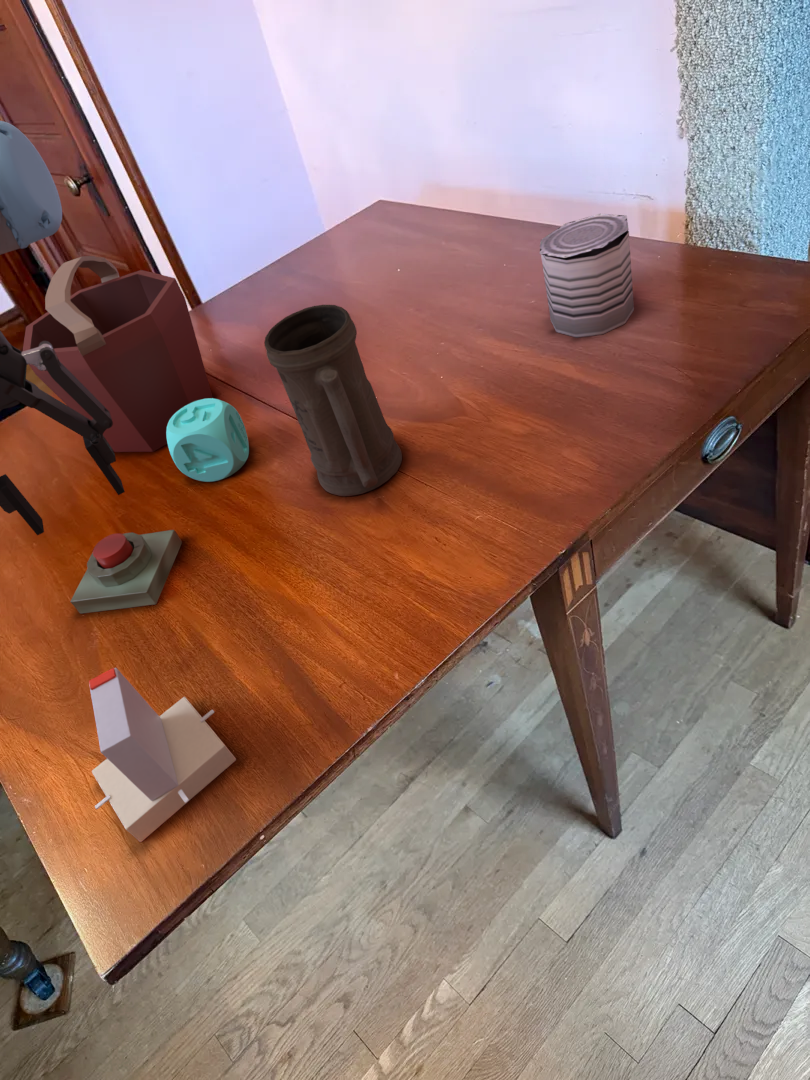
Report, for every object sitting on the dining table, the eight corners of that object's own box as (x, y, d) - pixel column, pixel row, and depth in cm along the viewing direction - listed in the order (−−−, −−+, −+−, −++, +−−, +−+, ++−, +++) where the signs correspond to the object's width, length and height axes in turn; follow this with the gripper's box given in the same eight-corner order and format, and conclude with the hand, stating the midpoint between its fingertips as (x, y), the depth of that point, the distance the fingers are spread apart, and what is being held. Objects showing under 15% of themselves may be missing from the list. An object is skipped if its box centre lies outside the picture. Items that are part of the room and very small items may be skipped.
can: (597, 345, 97) (588, 258, 90) (533, 327, 105) (519, 245, 97) (652, 303, 101) (648, 215, 93) (585, 288, 109) (576, 206, 101)
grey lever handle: (179, 785, 62) (129, 733, 57) (151, 801, 62) (98, 750, 57) (161, 718, 68) (114, 665, 63) (136, 732, 68) (86, 679, 62)
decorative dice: (245, 475, 98) (219, 426, 92) (189, 488, 99) (160, 440, 94) (252, 439, 104) (228, 391, 98) (199, 452, 105) (173, 405, 100)
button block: (156, 604, 84) (138, 580, 81) (80, 614, 86) (60, 591, 84) (182, 542, 91) (167, 518, 88) (111, 552, 93) (94, 529, 91)
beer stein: (304, 465, 96) (244, 331, 81) (376, 426, 97) (330, 288, 83) (355, 533, 85) (297, 392, 71) (435, 488, 87) (393, 342, 73)
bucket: (197, 460, 103) (101, 294, 87) (62, 482, 109) (-52, 330, 92) (242, 365, 121) (169, 212, 104) (124, 388, 126) (37, 246, 110)
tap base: (139, 870, 61) (122, 856, 59) (86, 779, 69) (70, 764, 67) (258, 765, 65) (246, 749, 63) (196, 691, 73) (183, 675, 71)
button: (126, 566, 84) (118, 555, 83) (95, 570, 85) (87, 560, 84) (138, 541, 87) (130, 531, 86) (108, 546, 88) (100, 535, 87)
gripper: (50, 259, 70) (163, 447, 85) (-174, 357, 67) (-15, 535, 82) (56, 282, 65) (177, 478, 80) (-187, 390, 62) (-14, 573, 77)
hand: (80, 507), depth 81 cm, fingers open, 9 cm apart
